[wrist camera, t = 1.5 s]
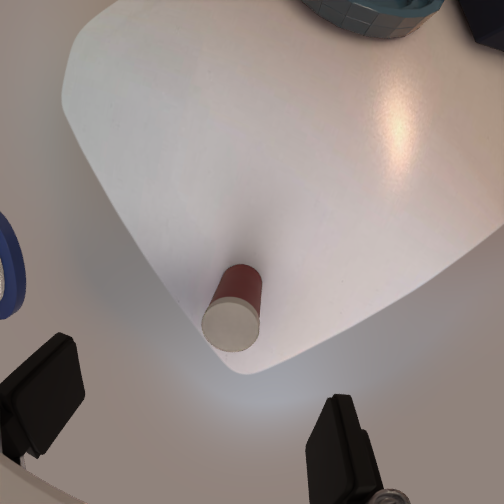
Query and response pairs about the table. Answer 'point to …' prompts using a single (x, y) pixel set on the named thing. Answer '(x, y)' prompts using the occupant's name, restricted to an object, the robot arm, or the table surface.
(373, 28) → the basin
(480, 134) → the table surface
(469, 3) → the speaker
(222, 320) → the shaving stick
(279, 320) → the table surface
